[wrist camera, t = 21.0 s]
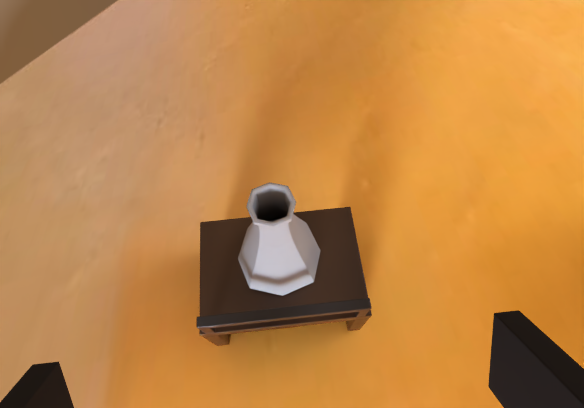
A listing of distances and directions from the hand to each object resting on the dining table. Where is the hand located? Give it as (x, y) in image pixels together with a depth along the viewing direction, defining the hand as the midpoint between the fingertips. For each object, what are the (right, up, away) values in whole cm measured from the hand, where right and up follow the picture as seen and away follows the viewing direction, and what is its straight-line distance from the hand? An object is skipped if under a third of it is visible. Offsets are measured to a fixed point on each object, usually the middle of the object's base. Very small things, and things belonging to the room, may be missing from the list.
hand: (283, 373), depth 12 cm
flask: (-1, +1, +22) cm, 22 cm away
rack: (-1, -3, +28) cm, 28 cm away
